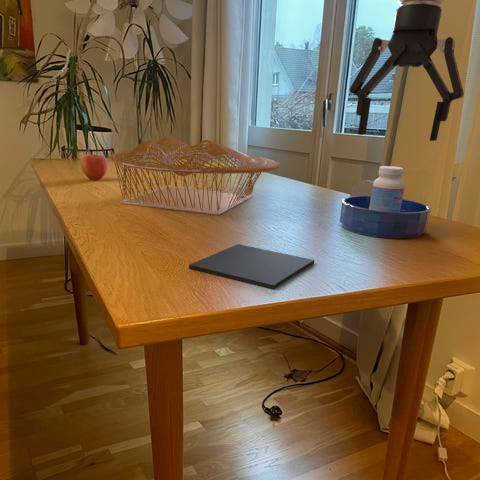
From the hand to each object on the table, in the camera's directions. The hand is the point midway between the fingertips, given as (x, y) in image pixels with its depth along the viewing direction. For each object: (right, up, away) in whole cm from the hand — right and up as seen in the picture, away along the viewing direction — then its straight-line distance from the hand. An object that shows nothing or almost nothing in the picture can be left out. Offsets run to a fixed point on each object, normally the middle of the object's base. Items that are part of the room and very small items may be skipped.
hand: (396, 137), depth 91 cm
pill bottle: (-1, -15, +7) cm, 17 cm away
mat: (-28, -27, -19) cm, 43 cm away
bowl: (-1, -16, +7) cm, 18 cm away
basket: (-41, -6, +25) cm, 48 cm away
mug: (+1, -8, +24) cm, 26 cm away
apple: (-72, +5, +46) cm, 86 cm away
